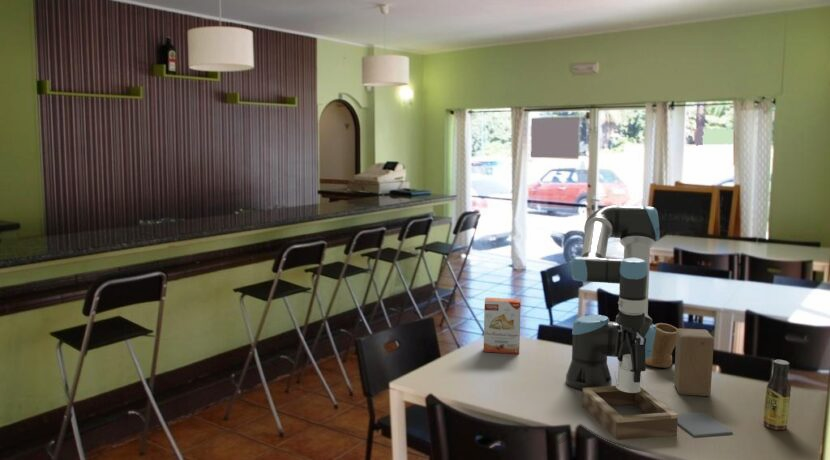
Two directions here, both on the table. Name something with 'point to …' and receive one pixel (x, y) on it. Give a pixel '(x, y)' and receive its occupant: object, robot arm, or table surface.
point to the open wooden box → (629, 426)
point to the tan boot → (663, 346)
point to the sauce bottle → (777, 397)
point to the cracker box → (502, 325)
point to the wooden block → (693, 362)
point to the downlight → (625, 374)
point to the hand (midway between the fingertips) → (628, 386)
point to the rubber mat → (701, 424)
